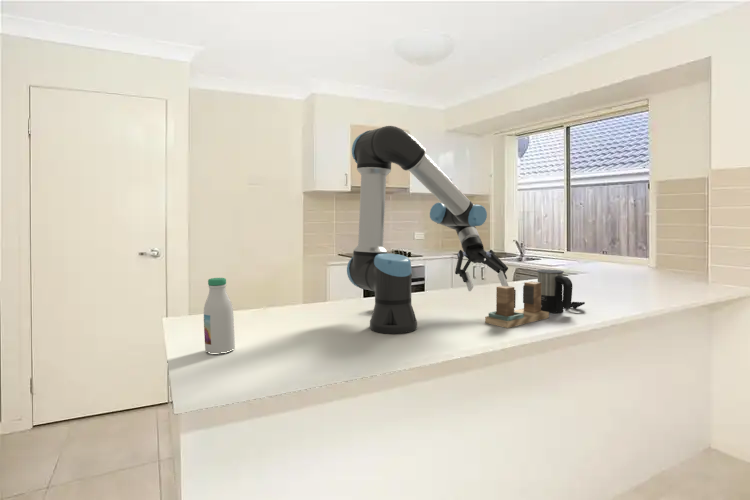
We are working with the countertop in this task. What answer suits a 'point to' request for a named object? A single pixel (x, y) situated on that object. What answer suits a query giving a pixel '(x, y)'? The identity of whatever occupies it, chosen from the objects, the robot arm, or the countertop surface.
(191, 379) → the countertop surface
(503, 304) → the brown wooden block
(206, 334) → the milk bottle
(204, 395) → the countertop surface
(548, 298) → the milk frother
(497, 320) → the wooden docking stand
